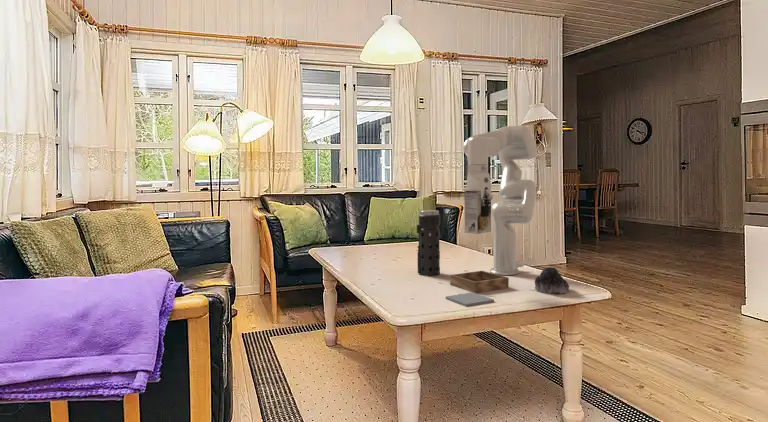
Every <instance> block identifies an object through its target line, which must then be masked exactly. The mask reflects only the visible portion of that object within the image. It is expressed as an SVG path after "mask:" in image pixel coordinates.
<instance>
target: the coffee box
mask: <svg viewBox="0 0 768 422" xmlns="http://www.w3.org/2000/svg"><path fill="white" fill-rule="evenodd" d="M463 193H465V197H464V233H465V234H474V235H480V234H485V233H490V232H492V202H491V203H490V206H489V216H488V217H481V206H482V204H481V199H480V191H466V190H464V191H463ZM483 198H485V197H484V196H483ZM484 202H485V201H484Z"/></svg>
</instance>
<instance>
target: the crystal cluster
mask: <svg viewBox="0 0 768 422" xmlns="http://www.w3.org/2000/svg"><path fill="white" fill-rule="evenodd" d="M539 274H540V275H538V276H537V277H535V279H534V285H535V286H534V290H536V292H538V293H544V294H550V293H553V294H554V295H555V294H561V295H562V294H563V293H564V294H567V293H568V292H570V285H569V283H568V282H567V280H565V279H564V278H563V276H562V275H561V274H560V273H559V271H558V270H557V268H555V267H544V268H543V270H542V271H541V272H540V273H539Z"/></svg>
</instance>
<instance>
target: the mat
mask: <svg viewBox="0 0 768 422" xmlns="http://www.w3.org/2000/svg"><path fill="white" fill-rule="evenodd" d="M445 299H446V300H448V301H450V302H453V303H456V304H458V305H462V306H463V307H471V306H477V305H485V304H490V303H494V302H495V299H494V298H491V297H487V296H485V295H482V294H480V293H479V294H478V293H473V292H466V293H459V294H453V295H448V296H445Z"/></svg>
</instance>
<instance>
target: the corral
mask: <svg viewBox="0 0 768 422" xmlns="http://www.w3.org/2000/svg"><path fill="white" fill-rule="evenodd" d="M449 276H450V277H449V278H450V279H449V280H450V283H449V285H450V286H452V287H456V288H459V289H462V290H465V291H468V292H469V293H471V292H473V293H476V294H478V293H479V294H481V293H484V292H491V291H499V290H503V289H504V290H505V289H509V281H510V279H509V277H508V276H507V277H506V276H505V275H498V274H493V273H491V272H490V271H489V272H488V271H485V270H477V271H470V272H469V271H468V272H463V273H454V274H450V275H449Z"/></svg>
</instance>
